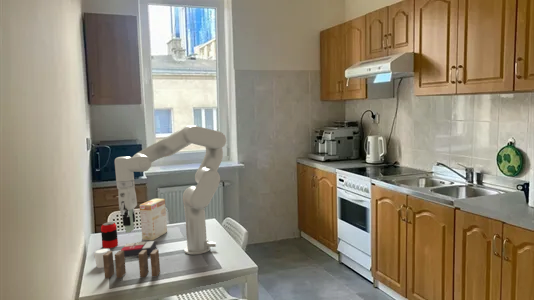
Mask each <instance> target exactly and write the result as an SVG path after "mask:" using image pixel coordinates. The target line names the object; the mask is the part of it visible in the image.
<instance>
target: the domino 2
mask: <svg viewBox="0 0 534 300" xmlns="http://www.w3.org/2000/svg"><path fill="white" fill-rule="evenodd" d="M114 263H115V264H114V265H115V275H116V279H118V278H119V279H122V278H123V277H124V276H125V274H126V273H127V270H126V257H124V251H121V250H118V251H117V252H116V253H115V254H114Z"/></svg>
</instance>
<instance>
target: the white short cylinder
mask: <svg viewBox="0 0 534 300" xmlns="http://www.w3.org/2000/svg"><path fill="white" fill-rule="evenodd" d="M107 251H111V248H99V249H96V250H94V251H93V255H94V258H95V264H96V268H98V269H102V268H103V269H104V262H103V255H104V254H105V253H106V252H107Z"/></svg>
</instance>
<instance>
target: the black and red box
mask: <svg viewBox="0 0 534 300" xmlns="http://www.w3.org/2000/svg"><path fill="white" fill-rule="evenodd" d="M155 249H157V243H156V240H155V241H154V240H144V241H138V242H130V243H129V242H128V243H126V244H124V246H123V247H122V248H121V250H120V251H124V257H125V258H126V257H128V258H129V257H138V254H139V253H140V252H141V251H142V250H147V256H150V253H151V252H152V251H153V250H155Z"/></svg>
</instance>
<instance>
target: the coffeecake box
mask: <svg viewBox="0 0 534 300" xmlns="http://www.w3.org/2000/svg"><path fill="white" fill-rule="evenodd" d="M139 213H140V214H139V215H140V225H141V227H140V228H141V240H142V241H154V240H156V239H158V238H159V237H161V236H163V235H165V234H166V232H167V233H168V223H167V212H166V199H165V198H152V199H150V200H148V201H145V202H143V203H141V204H139Z"/></svg>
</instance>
